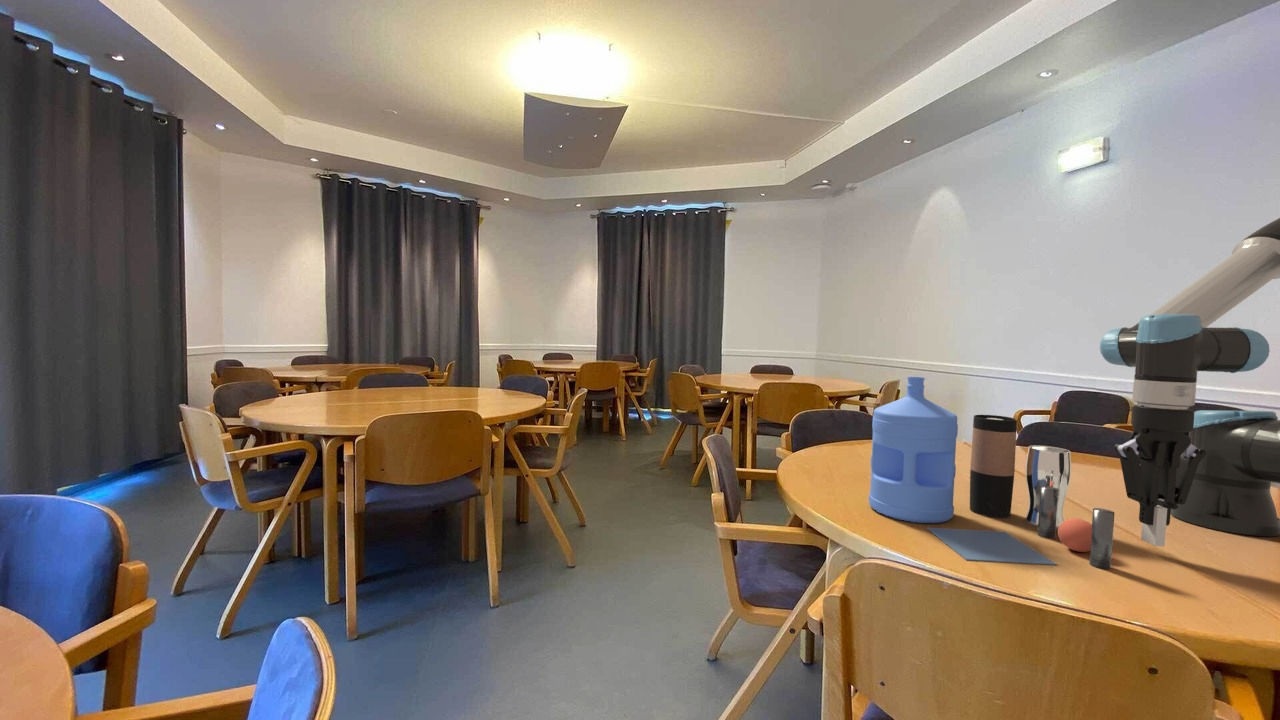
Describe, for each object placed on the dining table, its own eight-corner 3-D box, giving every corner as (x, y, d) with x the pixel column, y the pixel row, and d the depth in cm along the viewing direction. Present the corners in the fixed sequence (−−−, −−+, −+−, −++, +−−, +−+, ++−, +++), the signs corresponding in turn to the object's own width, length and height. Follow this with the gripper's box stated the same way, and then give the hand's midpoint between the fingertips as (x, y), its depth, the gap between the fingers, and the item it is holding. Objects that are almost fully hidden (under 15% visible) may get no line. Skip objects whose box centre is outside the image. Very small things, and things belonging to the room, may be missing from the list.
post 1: (1048, 533, 99) (1051, 486, 98) (1058, 539, 96) (1061, 490, 96) (1034, 532, 99) (1037, 485, 99) (1043, 538, 97) (1046, 489, 96)
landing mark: (1004, 532, 99) (1004, 531, 99) (1057, 565, 85) (1057, 563, 85) (926, 528, 100) (926, 527, 100) (966, 560, 86) (966, 559, 86)
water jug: (873, 495, 121) (879, 373, 119) (953, 508, 113) (960, 377, 111) (863, 514, 107) (869, 377, 106) (953, 531, 99) (960, 382, 98)
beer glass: (1023, 515, 109) (1028, 443, 108) (1067, 523, 105) (1072, 448, 104) (1021, 524, 104) (1025, 448, 103) (1067, 533, 99) (1072, 454, 98)
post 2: (1102, 562, 86) (1105, 508, 86) (1115, 569, 84) (1118, 513, 83) (1085, 561, 87) (1088, 507, 86) (1097, 568, 84) (1101, 513, 84)
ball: (1061, 550, 94) (1089, 533, 93) (1085, 563, 88) (1114, 545, 88) (1043, 525, 94) (1071, 508, 94) (1066, 536, 89) (1095, 518, 88)
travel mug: (959, 507, 113) (964, 415, 112) (986, 505, 115) (991, 414, 114) (992, 520, 106) (998, 421, 105) (1021, 516, 108) (1026, 419, 107)
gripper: (1140, 407, 86) (1130, 549, 87) (1227, 410, 85) (1215, 554, 86) (1103, 401, 93) (1095, 532, 95) (1183, 404, 92) (1173, 536, 94)
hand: (1152, 542), depth 90 cm, fingers closed
